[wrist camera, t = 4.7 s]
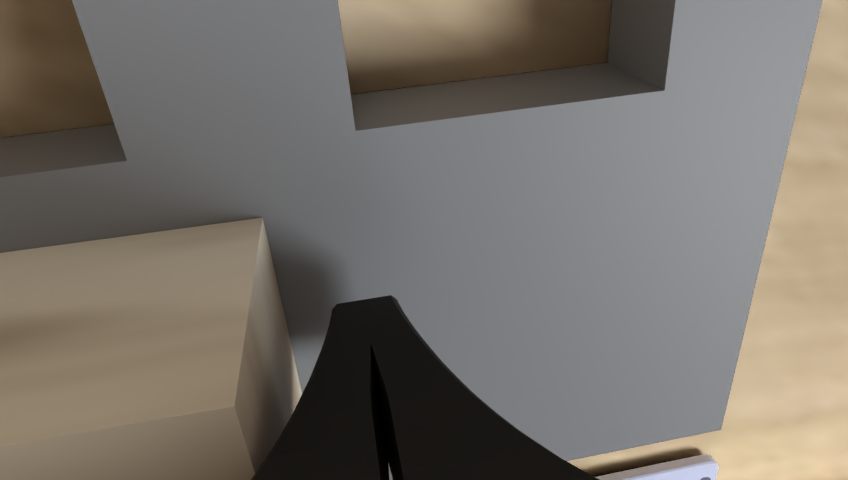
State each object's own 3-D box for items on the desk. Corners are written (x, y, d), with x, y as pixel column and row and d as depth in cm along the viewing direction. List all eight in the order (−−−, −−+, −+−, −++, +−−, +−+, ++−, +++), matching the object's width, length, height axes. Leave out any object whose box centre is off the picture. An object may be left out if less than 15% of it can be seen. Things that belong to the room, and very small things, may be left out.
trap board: (673, 370, 19) (721, 429, 17) (-151, 526, 16) (-222, 621, 14) (810, -437, 10) (948, -534, 8) (-957, -397, 7) (-1491, -531, 5)
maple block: (305, 410, 14) (305, 639, 9) (78, 450, 13) (-37, 713, 9) (262, 217, 11) (234, 405, 7) (-21, 255, 11) (-245, 487, 6)
